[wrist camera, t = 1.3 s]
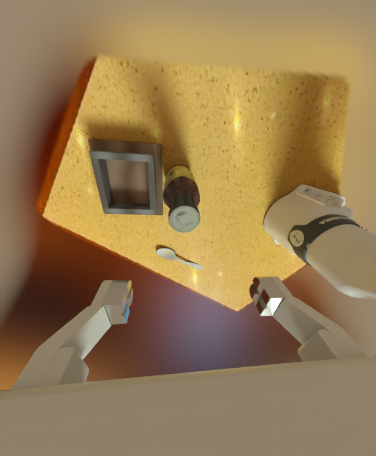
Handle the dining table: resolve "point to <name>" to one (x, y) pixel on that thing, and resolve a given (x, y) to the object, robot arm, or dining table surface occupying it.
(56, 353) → the robot arm
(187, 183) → the sauce bottle
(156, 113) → the dining table surface
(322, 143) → the dining table surface
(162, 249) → the spoon
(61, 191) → the dining table surface
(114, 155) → the box
